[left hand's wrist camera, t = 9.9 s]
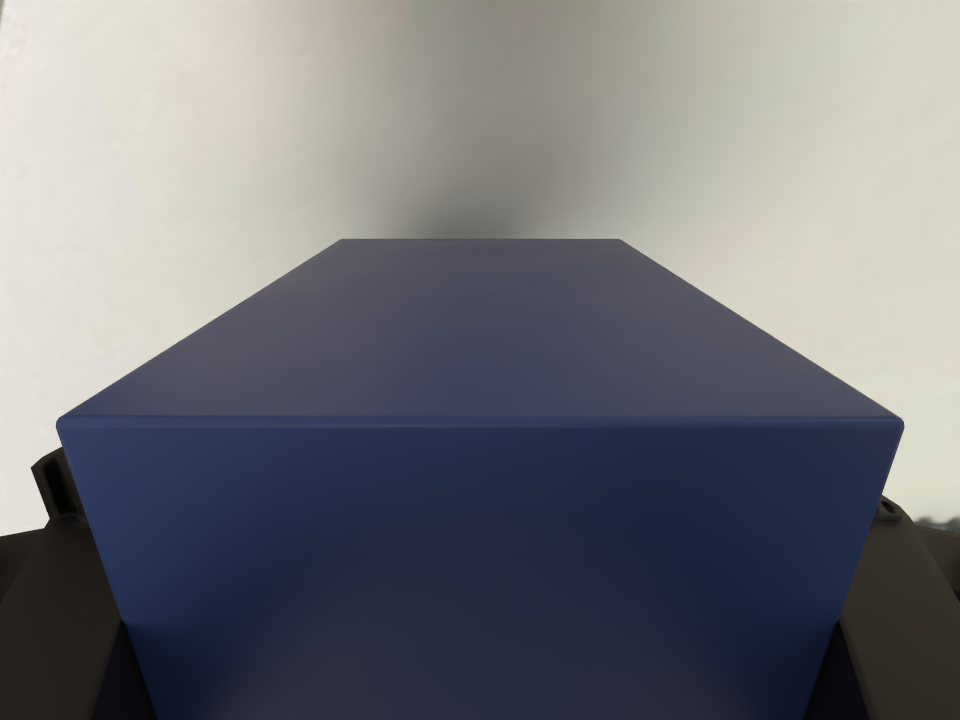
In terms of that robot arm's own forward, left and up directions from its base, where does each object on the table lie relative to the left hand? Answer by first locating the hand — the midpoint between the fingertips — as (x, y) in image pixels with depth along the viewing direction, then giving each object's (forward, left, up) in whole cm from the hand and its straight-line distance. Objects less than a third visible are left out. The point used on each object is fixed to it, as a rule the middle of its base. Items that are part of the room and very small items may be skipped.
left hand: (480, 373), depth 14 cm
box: (+9, +5, -1) cm, 11 cm away
